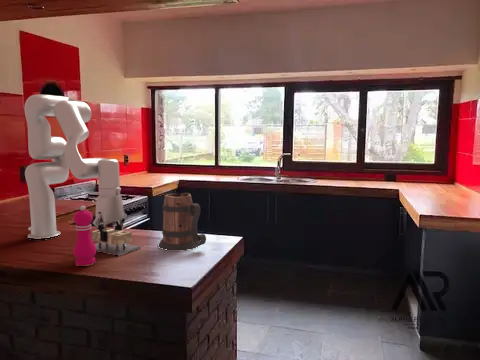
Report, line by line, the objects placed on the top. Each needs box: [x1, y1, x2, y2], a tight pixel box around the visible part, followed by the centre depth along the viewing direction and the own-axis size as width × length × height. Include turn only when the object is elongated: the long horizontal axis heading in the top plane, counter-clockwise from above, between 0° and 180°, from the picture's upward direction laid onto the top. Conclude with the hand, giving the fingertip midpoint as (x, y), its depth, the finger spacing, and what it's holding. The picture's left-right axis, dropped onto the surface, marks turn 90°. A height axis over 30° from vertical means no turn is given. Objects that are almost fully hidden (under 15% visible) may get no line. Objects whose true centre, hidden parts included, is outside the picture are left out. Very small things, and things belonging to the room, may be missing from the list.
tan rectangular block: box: [90, 227, 133, 245], centre depth 151 cm, size 14×7×4 cm, turn 61°
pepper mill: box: [72, 205, 97, 265], centre depth 133 cm, size 7×7×20 cm
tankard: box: [158, 192, 207, 251], centre depth 154 cm, size 24×17×20 cm
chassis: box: [94, 242, 141, 256], centre depth 151 cm, size 18×11×6 cm, turn 61°
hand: (111, 238), depth 151 cm, fingers closed on tan rectangular block, 6 cm apart
